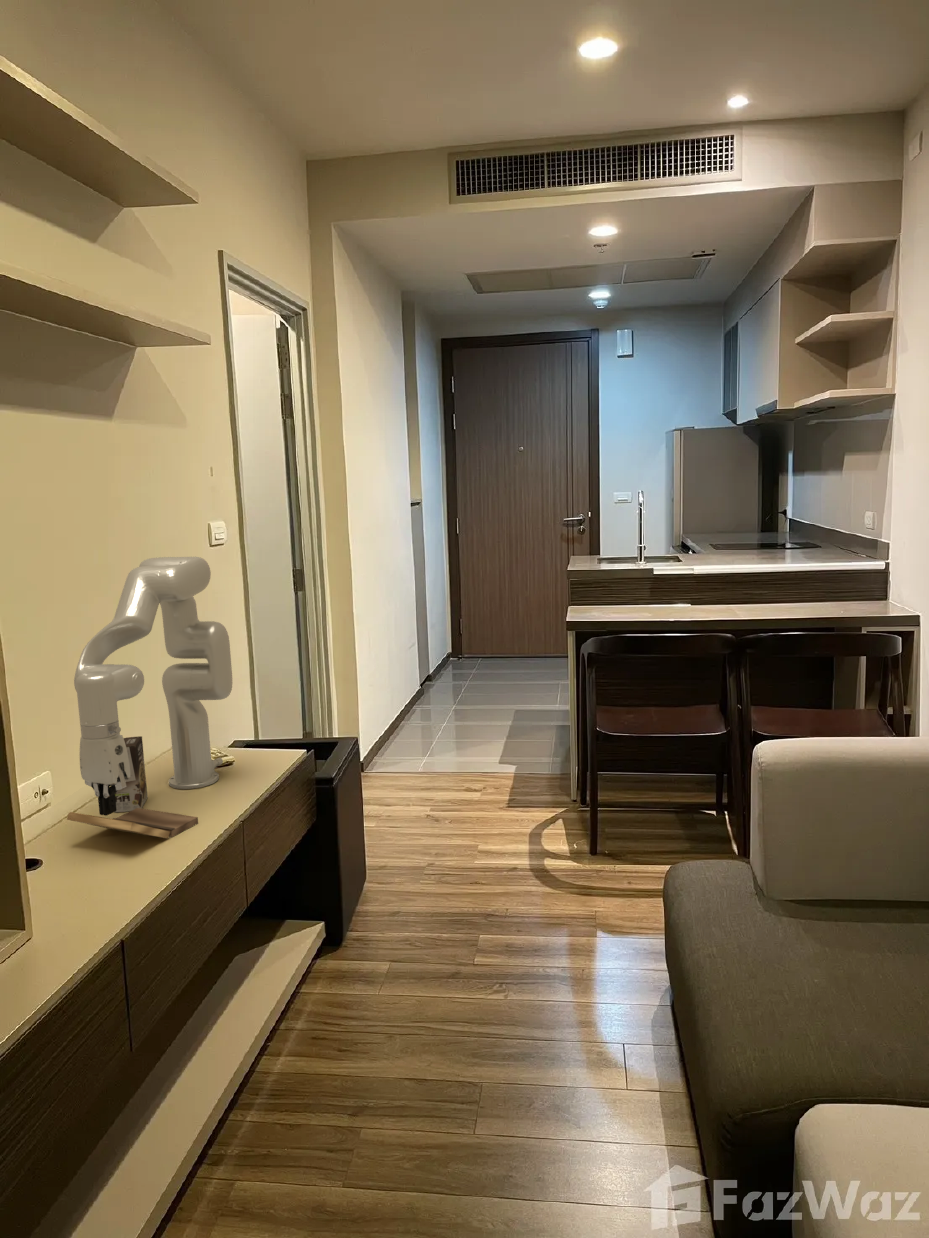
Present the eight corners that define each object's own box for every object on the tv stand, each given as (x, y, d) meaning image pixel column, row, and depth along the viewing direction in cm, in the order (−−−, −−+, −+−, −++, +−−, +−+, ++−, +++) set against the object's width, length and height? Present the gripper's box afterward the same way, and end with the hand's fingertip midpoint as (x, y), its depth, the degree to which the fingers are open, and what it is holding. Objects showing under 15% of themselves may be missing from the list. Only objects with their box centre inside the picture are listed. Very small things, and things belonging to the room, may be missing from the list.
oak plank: (106, 828, 199) (108, 820, 199) (168, 838, 192) (170, 830, 192) (66, 819, 189) (69, 811, 189) (130, 830, 181) (132, 822, 182)
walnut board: (138, 813, 208) (137, 806, 207) (198, 823, 200) (197, 816, 200) (110, 826, 200) (110, 819, 200) (172, 837, 193) (171, 829, 192)
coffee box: (141, 810, 210) (135, 745, 207) (113, 813, 209) (107, 748, 206) (148, 797, 219) (143, 735, 216) (121, 800, 218) (115, 737, 215)
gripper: (140, 728, 185) (147, 811, 188) (88, 723, 191) (95, 803, 194) (113, 737, 178) (121, 823, 181) (59, 732, 184) (68, 815, 187)
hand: (108, 812), depth 187 cm, fingers closed
